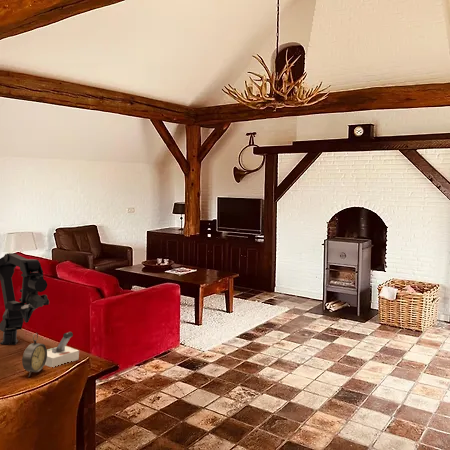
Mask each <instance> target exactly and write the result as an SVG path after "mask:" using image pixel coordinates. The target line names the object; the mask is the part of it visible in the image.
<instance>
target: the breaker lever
mask: <svg viewBox="0 0 450 450" xmlns="http://www.w3.org/2000/svg"><path fill="white" fill-rule="evenodd" d="M62 336H63V337H62V338H61V340H60V342H59V343H58V345H57V346H56V347H57V348H56V349H57V351H56V352H61V351H63V349H64V348H65V346H67V344H68V342H69V341H70V339H71V338H72V337H73V336H74V333H73V332H72V331H68V332H64V333H63V335H62Z"/></svg>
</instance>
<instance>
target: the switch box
mask: <svg viewBox="0 0 450 450" xmlns="http://www.w3.org/2000/svg"><path fill="white" fill-rule="evenodd" d="M57 347H58V346H56V347H53V348H52V347H51V348H48V349H47V359H46V362H45V365H44V366H46V367H49V368H51V367H53V368H55V366H56V367H59V366H62V365H61V364H63V365H65V364H64V363H66V364H68V363H67V362H69V363H72V362H76V361H78V360H79V359H80V358H79V356H80V349H79V350H78V349H76V348H73V347H70V346H67V345H66V346H65V348H64V349H63V351H61V352H56V351H57V349H56V348H57ZM71 361H72V362H71ZM58 365H59V366H58Z"/></svg>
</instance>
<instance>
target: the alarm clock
mask: <svg viewBox="0 0 450 450" xmlns="http://www.w3.org/2000/svg"><path fill="white" fill-rule="evenodd" d="M35 336H36V339H35ZM38 337H39V334H38V332H36V333H34V335H33V337H32V340H33V343H30V344H29V345H27V347H26V348H25V349H24V351H23V354H22V361H21V362H22V363H21V365H22V367H23V369H24V370H25V371H26V372H29V374H28V376H27V378H30V377H31V375H32V373H39V372H41V371H43V368H44V367H45V366H46V365H45V362H46V359H47V350H48V349H47V346H46V345H45V344H43V343H39V342H37V341H38ZM34 339H35V340H34Z"/></svg>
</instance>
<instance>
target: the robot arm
mask: <svg viewBox="0 0 450 450" xmlns="http://www.w3.org/2000/svg"><path fill="white" fill-rule="evenodd" d="M16 267H18V268H19V270H20V272H22V273H21V275H20V276H21V277H22V283H21V289H19V292H20V293H21V298H18V301H16V295H15V290H14V284H13V276H14V273H15V268H16ZM0 285H1V293H2V298H3V305H4V309H5V311H3V315H2V320H1V321H0V331H1V332H3V333H2V335H3V336H2V340H1V342H0V345H11V346H12V345H13V346H14V345H16V344H17V343H18V342H19V339H17V336H18V335H17V333H18V330H22V329H23V326H24V323H26V324H27V323H29V321H30V319H31V317H32V314H33V313H34V311H35V310H36V309H38V308H41V307H43V306H48V305H50V299H49V298H48V295H47V294H39V293H42V292H45V291H46V290H47V288H48V282H47V280H46V279H45V277H44V270H43V267H42V265H41V262H40V260H39V259H34V258H27V257H23V256H21V255H19V254H18V253H15V252H13V253H12V252H10V253H9V252H8V253H5V254H4V255H3V256H2V257H0Z"/></svg>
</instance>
